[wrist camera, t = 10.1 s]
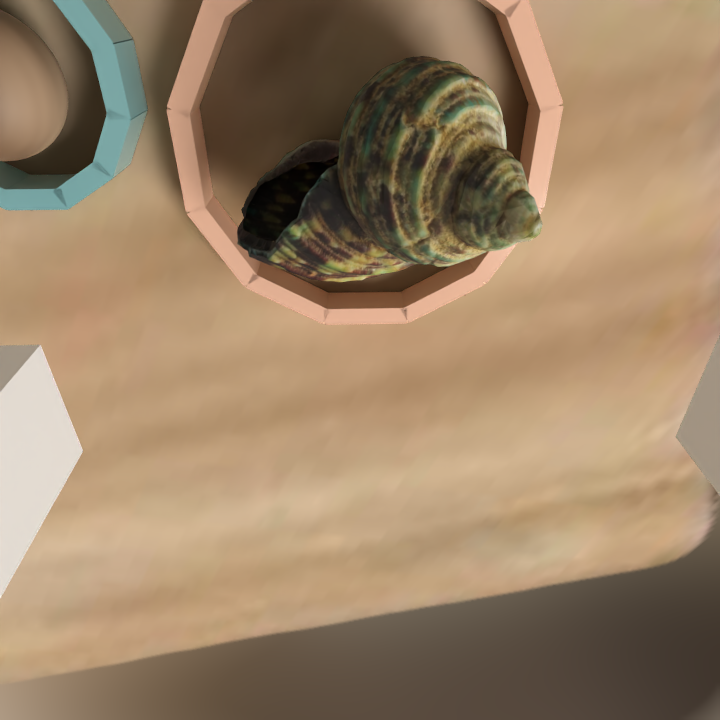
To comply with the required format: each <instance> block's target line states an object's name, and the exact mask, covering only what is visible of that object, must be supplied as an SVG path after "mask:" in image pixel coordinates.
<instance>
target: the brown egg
mask: <svg viewBox="0 0 720 720" xmlns="http://www.w3.org/2000/svg"><path fill="white" fill-rule="evenodd" d="M67 111H68V90H67V86H66V81H65V78H64V75H63V73H62V70H61V68H60V66H59V64H58V62H57V60H56V58H55V57H54V55H53V53H52V52H51V51H50V49H49V48H48V46H47V45H46V44H45V43H44V42H43V40H42V39H41V38H40V37H39V36H38V35H37V34H36V33H35V32H34V31H33V30H32V29H30V28H29V27H28V26H26V25H25V24H24V23H23V22H21V21H20V20H18V19H17V18H15V17H13V16H12V15H10V14H8V13H6V12H4V11H2V10H0V161H15V160H21V159H25V158H28V157H31V156H33V155H36V154H38V153H40V152H41V151H43V150H44V149H46V148H47V147H48V146H49V145H50V144H52V143H53V142H54V140H55V139H56V138H57V136H58V135H59V134H60V132H61V130H62V128H63V126H64V123H65V120H66V117H67Z"/></svg>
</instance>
